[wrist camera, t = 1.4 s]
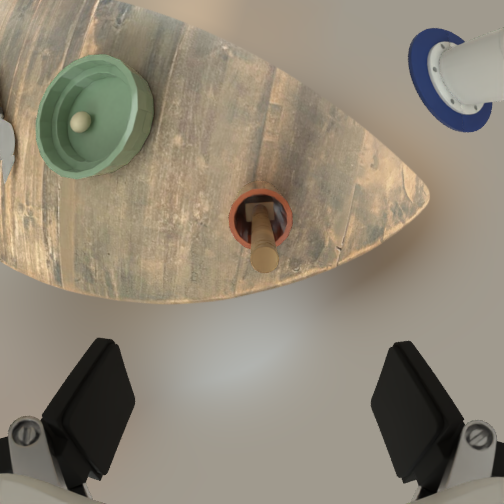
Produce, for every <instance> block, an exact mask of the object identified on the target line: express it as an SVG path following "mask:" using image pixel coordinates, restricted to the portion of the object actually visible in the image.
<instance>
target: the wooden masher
mask: <svg viewBox="0 0 504 504" xmlns="http://www.w3.org/2000/svg"><path fill="white" fill-rule="evenodd" d="M245 210H246V221H247V222H251V221H252V232H251V258H250V261H251V265H252V267H253V268H254V269H255V270H256V271H258V272H261V273H268V272H271V271H273V270H274V269H275V268H276V267H277V265H278V263H279V256H278V252H277V248H276V244H275V239H274V235H273V231H272V227H271V223H270V220H274V202H273V200H272V197H271V196H259V197H248V198H246V202H245Z"/></svg>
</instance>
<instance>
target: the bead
mask: <svg viewBox="0 0 504 504" xmlns="http://www.w3.org/2000/svg"><path fill="white" fill-rule="evenodd" d="M90 124H91V117H90V115H89V114H88V113H87V112H84V111H80V112H77V113H76V114H74V115H73V117H72V118H71V121H70V126H71V128H72V130H73V131H74V132H77V133H82V132H84V131H86V130H87V129H88V128H89V127H90Z"/></svg>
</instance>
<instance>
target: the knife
mask: <svg viewBox="0 0 504 504" xmlns="http://www.w3.org/2000/svg"><path fill="white" fill-rule="evenodd" d="M3 118H4V115H3V110H2V107H0V160H3V162H2V171H3V178H4V184H5V182H6V180H7V178H8V175H9V173H10V170H11V168H12V166H13V163H14V161H15V157H14V155H13V153H14V147H15V137H14V131H13V128H12V125H11V124H10V123H8V122H7V121H5V120H4V119H3ZM12 155H13V156H12Z"/></svg>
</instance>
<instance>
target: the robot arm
mask: <svg viewBox="0 0 504 504" xmlns="http://www.w3.org/2000/svg"><path fill="white" fill-rule="evenodd" d="M427 66H428V72H429V76H430V79H431V82H432V84H433V86H434V88H435V90H436V92H437V93H438V95H439V96H440V98H441V99H442V100H443V101H444V102H445V103H446V105H448V106H449V107H450V108H451V109H453V110H454V111H456V112H458V113H461V114H465V115H469V114H474V113H477V112H478V111H479V110H480V109H481V108H482V107H483V104H484V103H488V102H497V101H504V27H503V28H501V29H498V30H495V31H492V32H490V33H487V34H484V35H482V36H479V37H477V38H474V39H472V40H469V41H467V42H464V43H462V44H460V45H456V44H454V43H451V42H440V43H438V44H436V45H434V46H433V47H432V48H431V49H430V51H429V54H428V58H427ZM134 405H135V397H134V393H133V391H132V387H131V384H130V381H129V378H128V376H127V372H126V369H125V366H124V362H123V359H122V356H121V352H120V349H119V346H118V345H117V344H115V342H114V341H113V340H112V339H105V338H97V339H96V340H95V341H94V342H93V343H92V345H91V346H90V347H89V349H88V350H87V352H86V353H85V354H84V355H83V357H82V358H81V360H80V361H79V362H78V364H77V365H76V366H75V368H74V369H73V370H72V372H71V373H70V375H69V376H68V377H67V379H66V380H65V382H64V383H63V385H62V386H61V387H60V389H59V390H58V392H57V393H56V395H55V396H54V398H53V399H52V401H51V402H50V403H49V405H48V406H47V408H46V410H45V411H44V413H43V414H42V417H43V418H42V419H41V421H40V420H39V419H37V418H35V417H32V416H23V417H20V418H18V419H17V420H15V421H14V422H13V423H12V424H11V425H10V428H9V430H8V437H4V438H1V439H0V504H105V503H102V502H98V501H96V500H93V498H92V496H91V494H90V492H89V490H88V487H87V485H86V480H87V478H88V477H90V478H93V479H96V480H99V481H100V480H101V478H102V476H103V475H106V474H107V473H108V470H109V468H110V465H111V463H112V460H113V458H114V455H115V452H116V450H117V447H118V445H119V442H120V440H121V437H122V434H123V432H124V430H125V427H126V424H127V422H128V420H129V418H130V415H131V413H132V410H133V408H134ZM371 408H372V411H373V413H374V416H375V418H376V421H377V423H378V426H379V428H380V431H381V434H382V436H383V439H384V442H385V444H386V447H387V450H388V452H389V455H390V458H391V461H392V463H393V466H394V469H395V472H396V474H397V476H398V477H399V478H402V480H403V483H408V482H410V481H413V480H417V482H418V488H417V490H416V492H415V494H414V496H413V498H412V501H411V502H410V503H407V504H504V443H502V442H498V441H497V435H496V432H495V430H494V429H493V427H492V426H491V425H490V424H488V423H487V422H484V421H481V420H474V421H470V422H468V423H467V424H466V425H465V424H464V422H463V420H464V418H463V417H462V415H461V413H460V412H459V410H458V408H457V407H456V405H455V404H454V402H453V401H452V399H451V398H450V396H449V395H448V393H447V392H446V390H445V389H444V388H443V386H442V384H441V383H440V382H439V380H438V378H437V377H436V375H435V374H434V373H433V372H432V370H431V368H430V367H429V366H428V364H427V363H426V361H425V360H424V358H423V357H422V356H421V354H420V353H419V351H418V350H417V349H416V347H415V346H414V345H413V343H412V342H411V341H404V342H396V343H394V345H393V347H391V348H389V350H388V354H387V357H386V360H385V363H384V366H383V369H382V372H381V374H380V377H379V380H378V383H377V386H376V388H375V391H374V394H373V396H372V399H371Z"/></svg>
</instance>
